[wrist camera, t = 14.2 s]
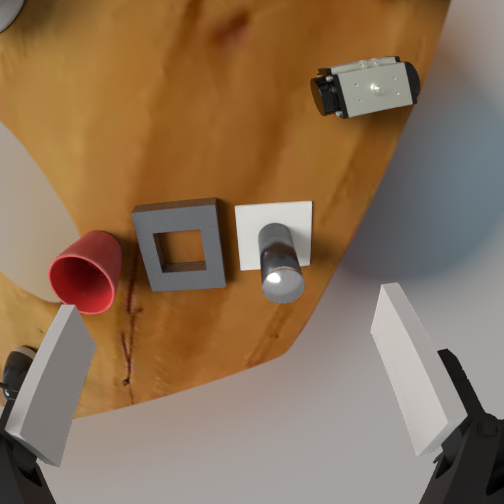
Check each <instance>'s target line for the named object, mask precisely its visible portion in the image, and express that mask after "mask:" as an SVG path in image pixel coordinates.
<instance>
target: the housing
mask: <svg viewBox="0 0 504 504" xmlns="http://www.w3.org/2000/svg"><path fill="white" fill-rule="evenodd" d="M131 215H132V220H133V224H134V228H135V231H136V235H137V239H138V243H139V247H140V250H141V254H142V258H143V261H144V265H145V268H146V272H147V275H148V278H149V282H150V285H151V288H152V292H154V291H173V290H191V289H207V288H222V287H226V272H225V265H224V257H223V249H222V241H221V233H220V225H219V217H218V209H217V200H216V198H205V199H194V200H184V201H174V202H164V203H155V204H147V205H138V206H135V208H134V209H133V211H132V212H131ZM196 229H200V231H201V238H202V244H203V250H204V256H205V261H199V262H185V263H171V264H165V261H164V257H163V253H162V249H161V245H160V240H159V236H158V233H162V232H173V231H185V230H196Z"/></svg>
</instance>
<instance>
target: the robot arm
mask: <svg viewBox="0 0 504 504" xmlns="http://www.w3.org/2000/svg"><path fill="white" fill-rule="evenodd" d="M371 333H372V336H373V338H374V340H375V343H376V345H377V348H378V350H379V353H380V355H381V358H382V360H383V363H384V365H385V368H386V371H387V373H388V376H389V379H390V381H391V384H392V387H393V389H394V392H395V395H396V397H397V400H398V403H399V406H400V408H401V411H402V414H403V417H404V420H405V423H406V426H407V429H408V432H409V435H410V438H411V441H412V444H413V447H414V450H415V453H416V456H417V457H419V456H422V455H425V454H428V453H431V452H434V451H435V450H436V449H437V448H438V447H439V446H440V445H441V446H442V449H443V452H442V453H441V454H439V455H438V456H437V457H436V459H435V460H434V462H433V463H436V462H437V461H438V460H439V461H438V463H437V466H436V468H435V471H434V473H433V475H432V477H431V480H430V482H429V484H428V486H427V489H426V491H425V493H424V495H423V497H422V499H421V501H420V503H419V504H504V419H503V420H498V419H497V418H496V417H495V416H493V415H491V414H487V413H486V412H485V411H484V409H483V408H482V406H481V404H480V402H479V400H478V398H477V395H476V394H475V392H474V390H473V387H472V386H471V383H470V382H469V380H468V379H467V376H466V374H465V372H464V370H462V366H461V364H460V362H459V361H458V359H457V357H456V356H455V355H454V354H452V352H450V351H449V350H448V349H443V350H439V351H436V349H435V347H434V345H433V343H432V342H431V340H430V338H429V336H428V334H427V332H426V330H425V329H424V327H423V325H422V323H421V321H420V320H419V318H418V316H417V314H416V313H415V311H414V309H413V307H412V306H411V304H410V303H409V301H408V299H407V297H406V295H405V294H404V292H403V290H402V289H401V287H400V285H399V284H398V283H390V284H382V285H381V290H380V294H379V298H378V303H377V307H376V311H375V315H374V319H373V323H372V327H371ZM96 347H97V346H96V345H95V343H94V341H93V339H92V337H91V335H90V333H89V332H88V330H87V328H86V326H85V324H84V322H83V320H82V318H81V316H80V314H79V312H78V310H77V308H76V305H61V307H60V309H59V311H58V313H57V315H56V316H55V318H54V320H53V322H52V324H51V326H50V328H49V330H48V332H47V334H46V336H45V338H44V340H43V342H42V344H41V346H40V348H39V350H38V352H37V354H36V356H35V358H34V360H33V362H32V364H31V367H30V369H29V371H28V372H27V371H24V372H23V373H22V374H21V375H20V376H19V377H18V379H17V380H16V382H15V384H14V387H13V389H12V392H11V393H10V396H9V400H8V401H7V403H6V405H5V408H4V410H3V413H2V415H1V418H0V504H56V502H55V500H54V498H53V496H52V494H51V492H50V490H49V488H48V485H47V483H46V481H45V479H44V477H43V474H42V472H41V469H40V467H39V465H38V464H37V463H36V459H37V457H38V458H39V459H40V460H41V461H43V462H44V463H46V464H50V465H53V466H57V467H60V464H61V460H62V456H63V452H64V448H65V444H66V440H67V437H68V433H69V430H70V426H71V423H72V419H73V416H74V413H75V409H76V406H77V403H78V400H79V397H80V394H81V390H82V387H83V384H84V381H85V378H86V375H87V373H88V370H89V367H90V364H91V361H92V358H93V355H94V353H95V350H96Z"/></svg>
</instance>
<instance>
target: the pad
mask: <svg viewBox="0 0 504 504" xmlns="http://www.w3.org/2000/svg"><path fill="white" fill-rule="evenodd" d="M235 214H236V225H237V235H238V246H239V256H240V266H241V270H254V269H261V267H260V256H259V246H258V234H259V232H260V230H261V229H262V228H263V227H264V226H265V225H267V224H270V223H281V224H283V225H285V226H286V227H287V228H288V229H289V230H290V233H291V236H292V239H293V243H294V247H295V250H296V254H297V257H298V261H299V265H300V266H306V265H310V249H311V220H312V201H297V202H280V203H265V204H251V205H237V206H235Z"/></svg>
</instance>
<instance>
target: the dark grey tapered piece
mask: <svg viewBox="0 0 504 504" xmlns="http://www.w3.org/2000/svg"><path fill="white" fill-rule="evenodd" d="M35 356H36V353H35V352H34V351H33V350H31V349H29V348H26V347H18V348H16V349H15V350H13V351H12V352H10V354H9V356H8V358H7V361H6V364H5V367H4V372H3V380H2V383H1V382H0V387H1V388H2V389H3V394H4V396H5V398H6V399H7V400H9V396H10V393H11V392H12V389H13V387H14V384H15V382H16V380H17V379H18V377H19V376H20V375H21V374H22V373H23V372H24V371H27V372H28V371H29V369H30V367H31V364H32V362H33V360H34V358H35Z"/></svg>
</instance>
